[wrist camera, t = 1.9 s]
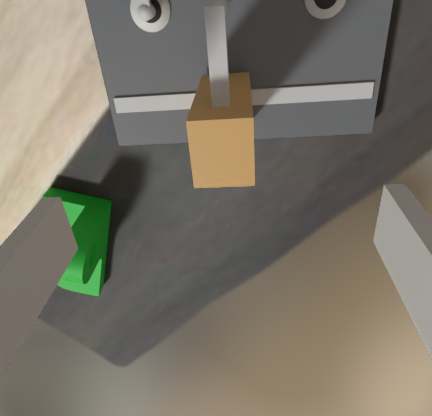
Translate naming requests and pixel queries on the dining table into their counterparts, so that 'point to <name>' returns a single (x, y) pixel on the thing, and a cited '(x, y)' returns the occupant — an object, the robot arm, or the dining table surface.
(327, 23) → the plate
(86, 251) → the mechanical part
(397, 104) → the dining table surface
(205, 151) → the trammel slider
